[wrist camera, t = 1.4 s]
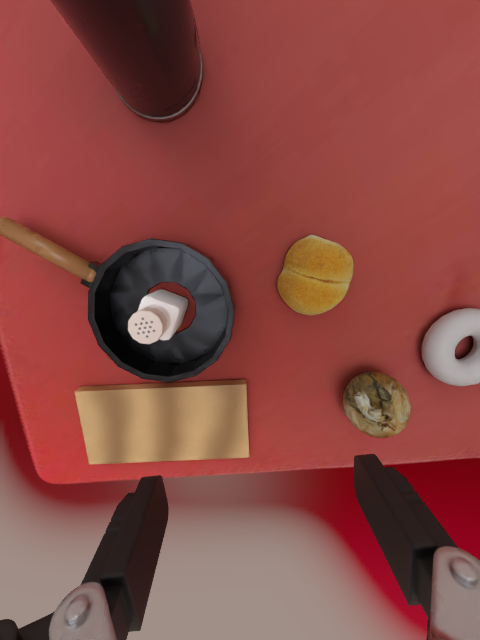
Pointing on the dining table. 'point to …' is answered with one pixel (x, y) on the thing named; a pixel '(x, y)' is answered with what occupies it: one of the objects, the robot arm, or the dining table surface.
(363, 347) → the dining table surface
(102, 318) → the pan
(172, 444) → the board
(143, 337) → the pepper shaker
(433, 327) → the donut
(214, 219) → the dining table surface
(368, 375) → the onion
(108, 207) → the dining table surface
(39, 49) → the dining table surface
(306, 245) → the bread roll
